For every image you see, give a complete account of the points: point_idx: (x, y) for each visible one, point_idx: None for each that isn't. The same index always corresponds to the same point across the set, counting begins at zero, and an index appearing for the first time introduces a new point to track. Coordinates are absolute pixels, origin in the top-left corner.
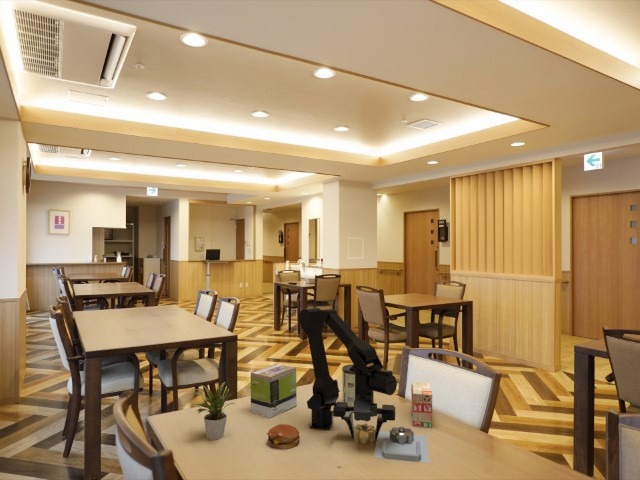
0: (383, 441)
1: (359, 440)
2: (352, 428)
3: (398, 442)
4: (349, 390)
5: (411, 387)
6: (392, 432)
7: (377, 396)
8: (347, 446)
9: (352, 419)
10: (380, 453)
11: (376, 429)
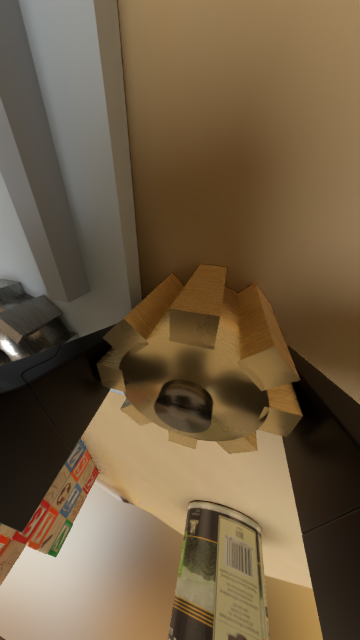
0: (49, 248)
1: (239, 307)
2: (324, 407)
3: (26, 296)
4: (245, 613)
5: (60, 540)
6: (26, 347)
7: (171, 516)
8: (338, 273)
9: (325, 538)
10: (49, 64)
11: (74, 354)
